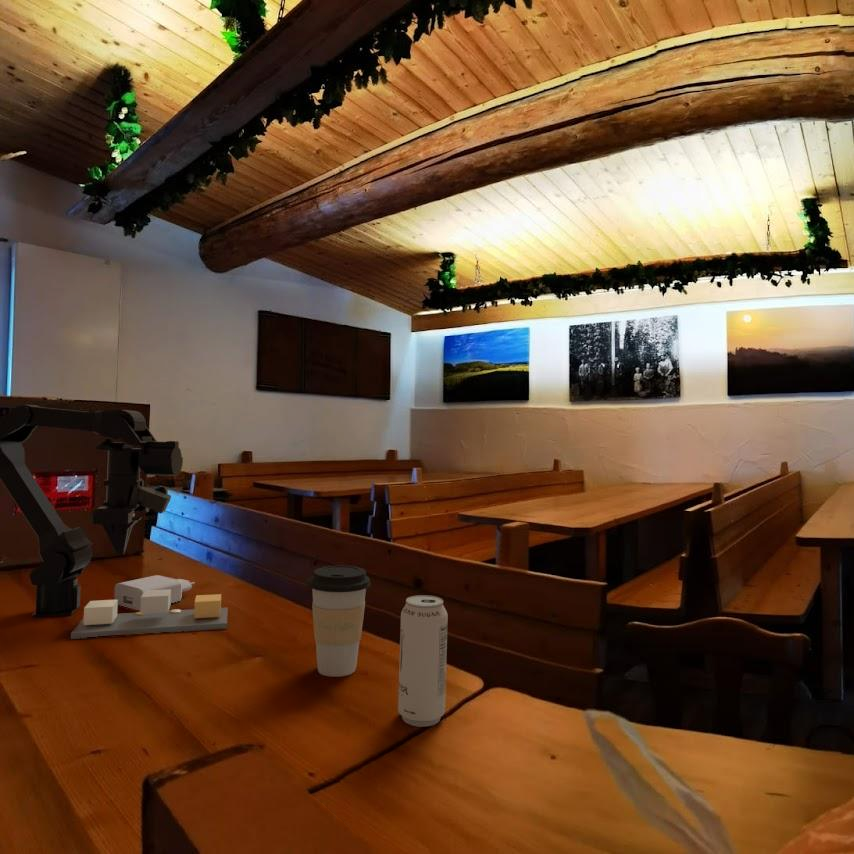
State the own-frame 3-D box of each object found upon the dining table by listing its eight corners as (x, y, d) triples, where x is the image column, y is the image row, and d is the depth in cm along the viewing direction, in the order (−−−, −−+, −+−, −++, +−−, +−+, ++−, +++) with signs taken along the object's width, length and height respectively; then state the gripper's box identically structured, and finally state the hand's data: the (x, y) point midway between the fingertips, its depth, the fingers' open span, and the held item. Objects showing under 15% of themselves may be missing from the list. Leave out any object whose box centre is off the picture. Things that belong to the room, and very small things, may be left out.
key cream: (83, 625, 103) (84, 608, 104) (89, 617, 108) (90, 600, 108) (112, 623, 105) (112, 606, 105) (117, 615, 109) (117, 599, 109)
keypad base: (70, 639, 100) (71, 632, 100) (85, 621, 110) (85, 614, 110) (226, 628, 108) (226, 622, 108) (227, 612, 118) (227, 606, 118)
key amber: (194, 618, 109) (194, 602, 109) (195, 611, 113) (196, 595, 113) (220, 616, 110) (220, 600, 110) (220, 609, 115) (221, 594, 115)
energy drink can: (399, 705, 79) (402, 593, 80) (444, 707, 79) (447, 594, 79) (395, 727, 73) (399, 606, 74) (444, 730, 73) (448, 608, 73)
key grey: (140, 613, 106) (141, 597, 106) (144, 606, 110) (144, 590, 111) (167, 612, 108) (168, 595, 108) (170, 605, 112) (171, 589, 112)
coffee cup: (316, 686, 85) (319, 580, 85) (298, 662, 93) (301, 566, 93) (377, 675, 89) (380, 575, 89) (355, 654, 97) (357, 562, 98)
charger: (205, 596, 129) (142, 613, 116) (177, 590, 134) (113, 605, 121) (206, 574, 129) (142, 589, 116) (178, 568, 134) (114, 582, 121)
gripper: (158, 478, 108) (155, 564, 108) (176, 471, 126) (173, 545, 126) (91, 477, 106) (87, 565, 105) (119, 470, 124) (116, 545, 124)
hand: (120, 554), depth 115 cm, fingers closed
